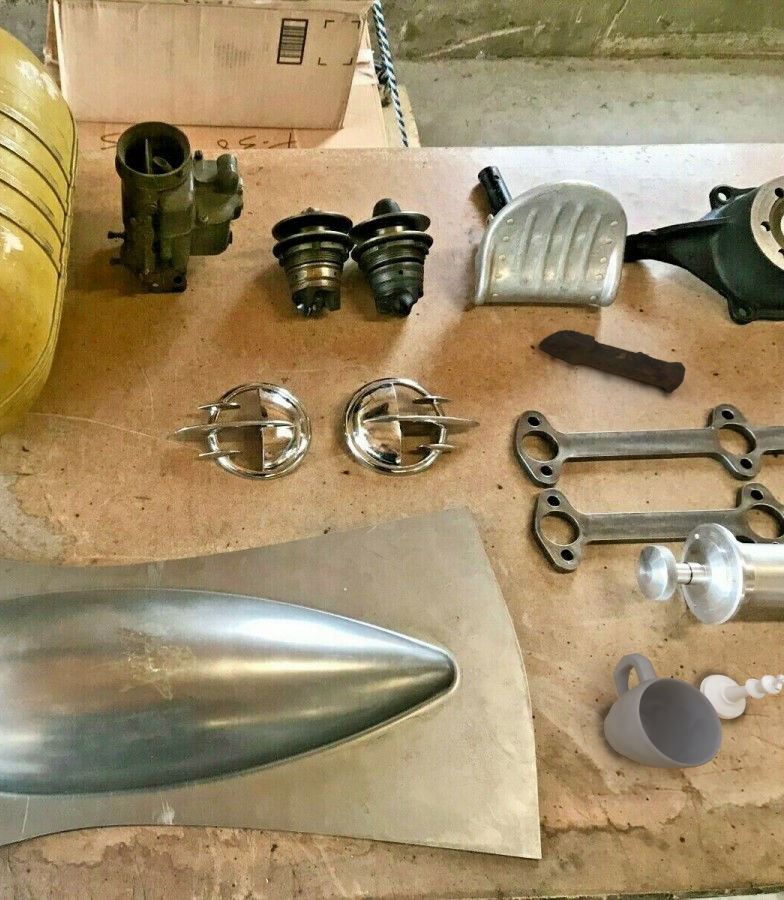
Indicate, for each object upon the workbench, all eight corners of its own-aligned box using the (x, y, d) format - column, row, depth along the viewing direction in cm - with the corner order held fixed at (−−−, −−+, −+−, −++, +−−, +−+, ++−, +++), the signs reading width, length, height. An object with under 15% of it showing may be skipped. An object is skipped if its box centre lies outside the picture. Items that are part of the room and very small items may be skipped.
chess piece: (747, 691, 92) (813, 674, 83) (736, 727, 90) (803, 715, 81) (706, 666, 93) (768, 648, 84) (694, 702, 91) (756, 687, 82)
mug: (679, 767, 87) (739, 759, 79) (606, 781, 86) (659, 773, 78) (634, 659, 93) (686, 640, 84) (565, 671, 92) (611, 652, 83)
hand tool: (670, 375, 112) (691, 356, 108) (669, 397, 110) (690, 380, 106) (539, 333, 114) (554, 313, 109) (535, 354, 112) (551, 335, 108)
